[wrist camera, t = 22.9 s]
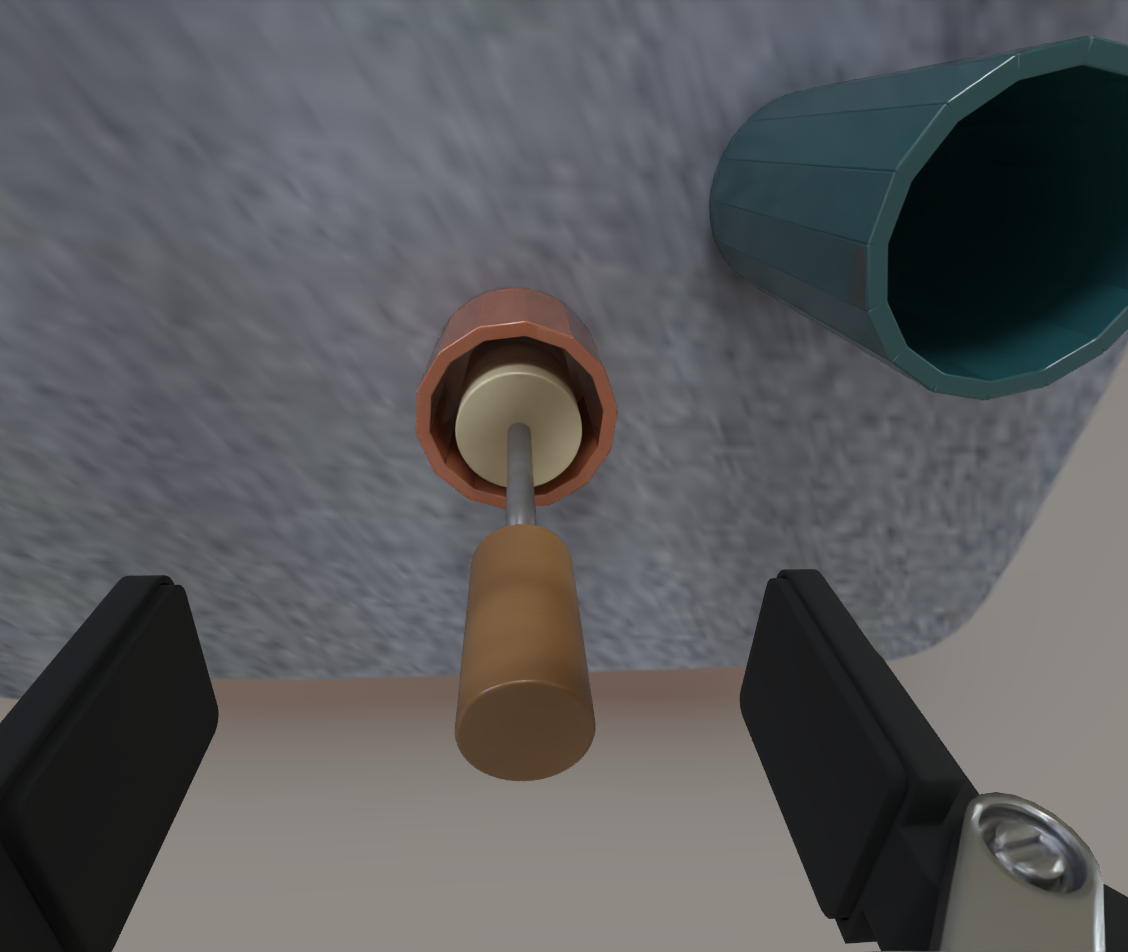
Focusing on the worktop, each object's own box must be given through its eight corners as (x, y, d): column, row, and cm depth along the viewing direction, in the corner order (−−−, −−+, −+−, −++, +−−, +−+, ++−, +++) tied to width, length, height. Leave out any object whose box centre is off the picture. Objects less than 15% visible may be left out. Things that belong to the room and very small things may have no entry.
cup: (672, 227, 26) (798, 294, 15) (794, 43, 24) (1065, -54, 12) (807, 324, 28) (1010, 449, 17) (932, 165, 26) (1273, 183, 14)
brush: (447, 394, 28) (349, 772, 11) (499, 306, 27) (474, 591, 10) (534, 442, 29) (564, 845, 13) (588, 361, 28) (705, 697, 11)
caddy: (405, 397, 29) (380, 455, 23) (486, 251, 26) (479, 279, 21) (541, 470, 31) (547, 539, 25) (628, 342, 28) (656, 388, 23)
